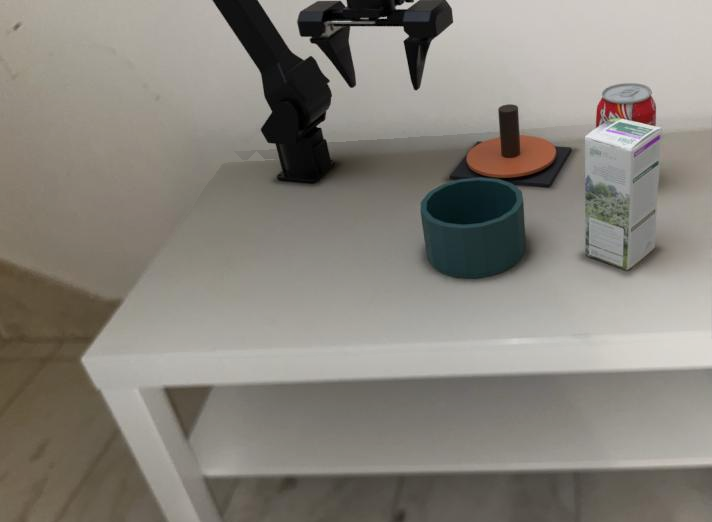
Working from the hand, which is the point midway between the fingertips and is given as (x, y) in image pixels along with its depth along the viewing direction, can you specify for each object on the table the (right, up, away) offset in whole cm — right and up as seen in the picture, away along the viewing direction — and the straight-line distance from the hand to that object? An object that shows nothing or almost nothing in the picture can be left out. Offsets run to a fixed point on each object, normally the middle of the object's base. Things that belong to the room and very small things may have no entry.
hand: (384, 87), depth 98 cm
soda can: (+30, -13, 0) cm, 33 cm away
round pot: (+11, -22, -9) cm, 26 cm away
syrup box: (+27, -23, -13) cm, 38 cm away
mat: (+17, -8, +8) cm, 20 cm away
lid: (+17, -7, +7) cm, 20 cm away
